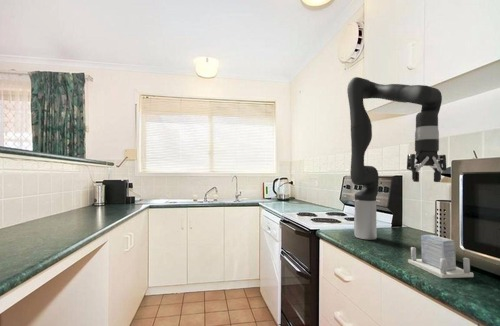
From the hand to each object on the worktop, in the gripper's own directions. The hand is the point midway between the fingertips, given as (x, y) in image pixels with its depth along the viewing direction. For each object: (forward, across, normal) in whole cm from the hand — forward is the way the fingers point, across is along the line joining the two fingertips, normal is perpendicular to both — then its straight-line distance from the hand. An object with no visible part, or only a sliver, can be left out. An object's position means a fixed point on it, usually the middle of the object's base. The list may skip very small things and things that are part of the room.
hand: (426, 181), depth 97 cm
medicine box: (+25, +10, +16) cm, 32 cm away
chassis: (+26, +10, +16) cm, 32 cm away
